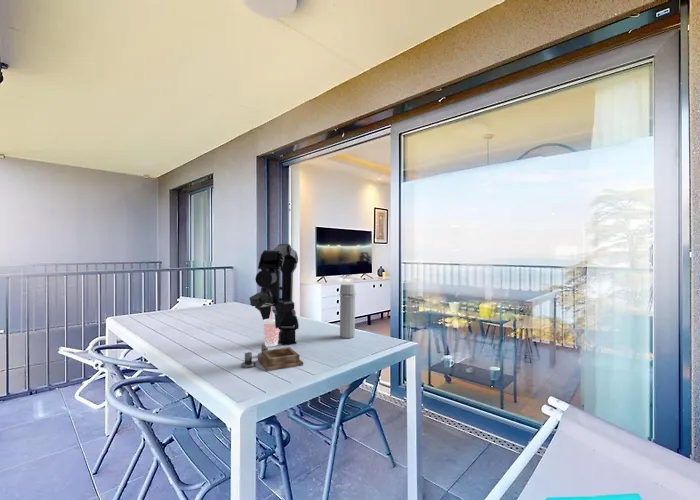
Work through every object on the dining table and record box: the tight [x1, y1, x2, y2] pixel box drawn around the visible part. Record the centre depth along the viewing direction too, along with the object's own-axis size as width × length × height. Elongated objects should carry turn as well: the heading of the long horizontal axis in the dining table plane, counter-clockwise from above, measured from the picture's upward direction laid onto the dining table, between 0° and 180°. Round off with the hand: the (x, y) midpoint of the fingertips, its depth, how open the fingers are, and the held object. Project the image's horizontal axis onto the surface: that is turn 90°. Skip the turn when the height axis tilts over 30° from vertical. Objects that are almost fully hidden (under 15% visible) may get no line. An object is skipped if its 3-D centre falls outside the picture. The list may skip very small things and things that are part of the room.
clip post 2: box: [257, 343, 269, 358], centre depth 131 cm, size 5×5×4 cm
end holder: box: [257, 346, 304, 372], centre depth 123 cm, size 13×13×4 cm
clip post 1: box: [240, 351, 256, 369], centre depth 120 cm, size 5×5×4 cm
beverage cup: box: [262, 306, 280, 347], centre depth 124 cm, size 6×6×14 cm
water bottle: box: [338, 283, 357, 339], centre depth 160 cm, size 9×8×25 cm
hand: (271, 326), depth 124 cm, fingers closed on beverage cup, 6 cm apart
